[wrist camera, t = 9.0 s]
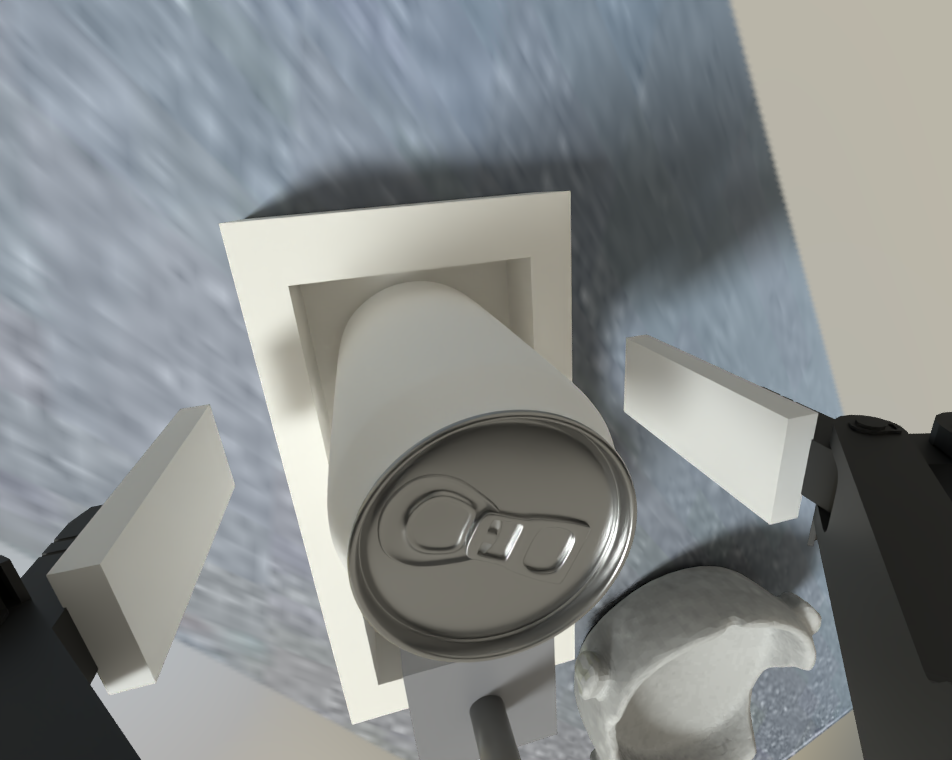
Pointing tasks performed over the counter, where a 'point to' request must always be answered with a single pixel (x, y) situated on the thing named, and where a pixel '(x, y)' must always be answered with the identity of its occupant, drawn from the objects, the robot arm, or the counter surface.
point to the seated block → (481, 704)
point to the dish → (687, 665)
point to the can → (468, 481)
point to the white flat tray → (319, 336)
